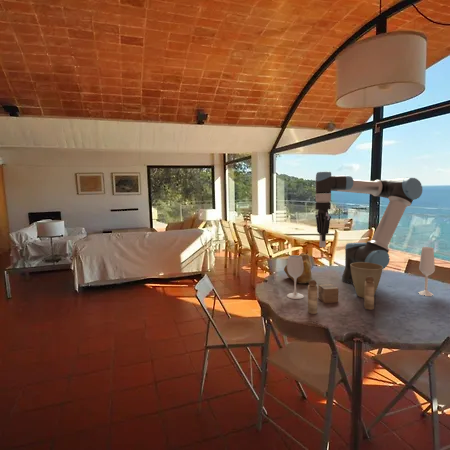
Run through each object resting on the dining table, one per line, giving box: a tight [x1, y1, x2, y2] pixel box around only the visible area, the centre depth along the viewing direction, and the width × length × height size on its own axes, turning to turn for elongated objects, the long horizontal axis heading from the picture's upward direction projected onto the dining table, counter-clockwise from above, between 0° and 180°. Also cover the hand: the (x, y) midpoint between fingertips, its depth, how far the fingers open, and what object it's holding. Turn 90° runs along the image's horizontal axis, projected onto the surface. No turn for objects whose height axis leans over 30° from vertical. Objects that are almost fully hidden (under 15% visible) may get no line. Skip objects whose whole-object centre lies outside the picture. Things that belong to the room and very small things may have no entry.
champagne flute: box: [417, 246, 436, 297], centre depth 152 cm, size 7×7×24 cm
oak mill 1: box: [307, 279, 318, 315], centre depth 133 cm, size 4×4×15 cm
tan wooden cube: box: [317, 283, 339, 304], centre depth 148 cm, size 7×7×7 cm
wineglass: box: [286, 255, 305, 300], centre depth 154 cm, size 9×9×21 cm
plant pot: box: [350, 262, 384, 299], centre depth 152 cm, size 15×15×16 cm
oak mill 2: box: [363, 276, 375, 311], centre depth 136 cm, size 4×4×15 cm
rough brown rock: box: [283, 253, 313, 284], centre depth 184 cm, size 23×17×15 cm
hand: (322, 246), depth 157 cm, fingers closed
